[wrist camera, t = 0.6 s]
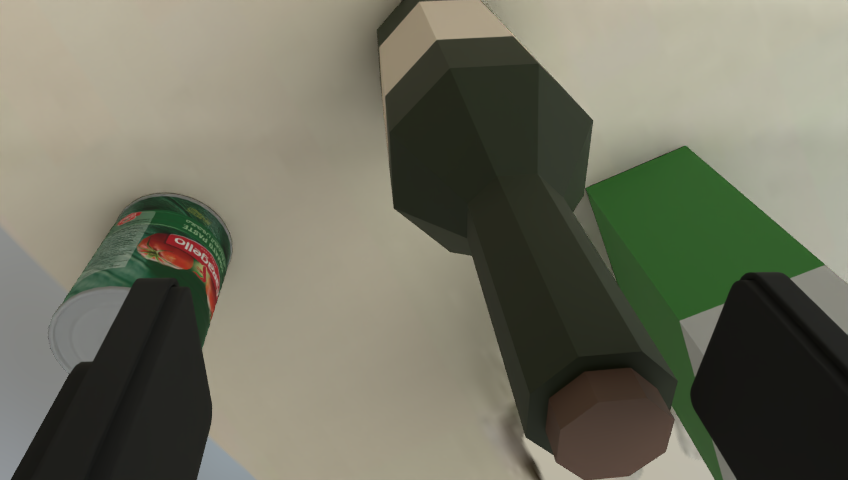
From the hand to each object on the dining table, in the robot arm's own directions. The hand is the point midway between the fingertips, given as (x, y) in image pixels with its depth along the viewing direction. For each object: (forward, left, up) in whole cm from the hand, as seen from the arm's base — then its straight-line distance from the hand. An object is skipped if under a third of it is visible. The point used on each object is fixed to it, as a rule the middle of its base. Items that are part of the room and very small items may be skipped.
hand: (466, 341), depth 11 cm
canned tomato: (+22, -1, -30) cm, 37 cm away
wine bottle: (0, +4, -30) cm, 30 cm away
